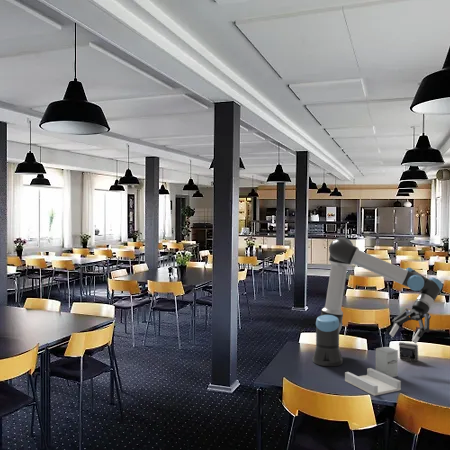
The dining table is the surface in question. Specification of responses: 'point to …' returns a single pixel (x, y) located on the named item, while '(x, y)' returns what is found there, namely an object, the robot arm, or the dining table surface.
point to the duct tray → (374, 382)
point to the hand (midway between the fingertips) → (402, 338)
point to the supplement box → (387, 361)
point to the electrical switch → (408, 351)
